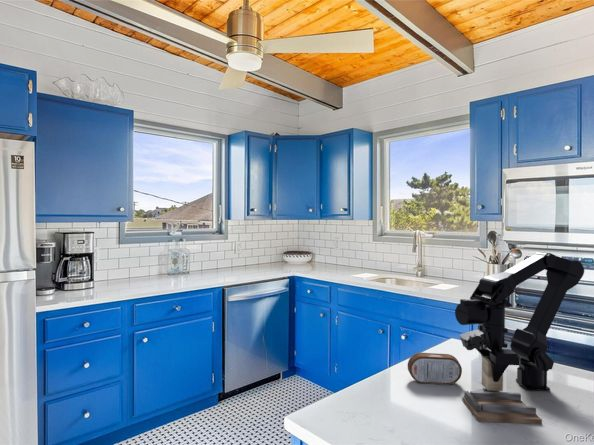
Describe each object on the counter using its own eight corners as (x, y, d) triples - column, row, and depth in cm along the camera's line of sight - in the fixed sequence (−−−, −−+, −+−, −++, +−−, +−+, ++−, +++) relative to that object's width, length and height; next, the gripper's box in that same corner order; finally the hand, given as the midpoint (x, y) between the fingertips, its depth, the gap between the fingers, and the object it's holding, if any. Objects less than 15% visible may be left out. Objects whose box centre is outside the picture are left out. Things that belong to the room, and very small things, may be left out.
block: (496, 384, 110) (496, 356, 109) (502, 390, 106) (503, 361, 105) (481, 384, 110) (482, 356, 110) (487, 390, 106) (488, 361, 106)
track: (518, 402, 101) (519, 392, 101) (541, 423, 91) (542, 413, 90) (462, 400, 102) (462, 390, 102) (478, 421, 91) (478, 410, 91)
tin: (459, 381, 113) (459, 353, 113) (462, 386, 110) (463, 357, 110) (407, 379, 115) (407, 351, 115) (409, 383, 112) (409, 355, 112)
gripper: (452, 313, 117) (451, 364, 117) (477, 332, 99) (476, 392, 99) (489, 314, 117) (488, 365, 117) (522, 333, 98) (520, 394, 98)
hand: (492, 378), depth 108 cm, fingers closed on block, 4 cm apart
